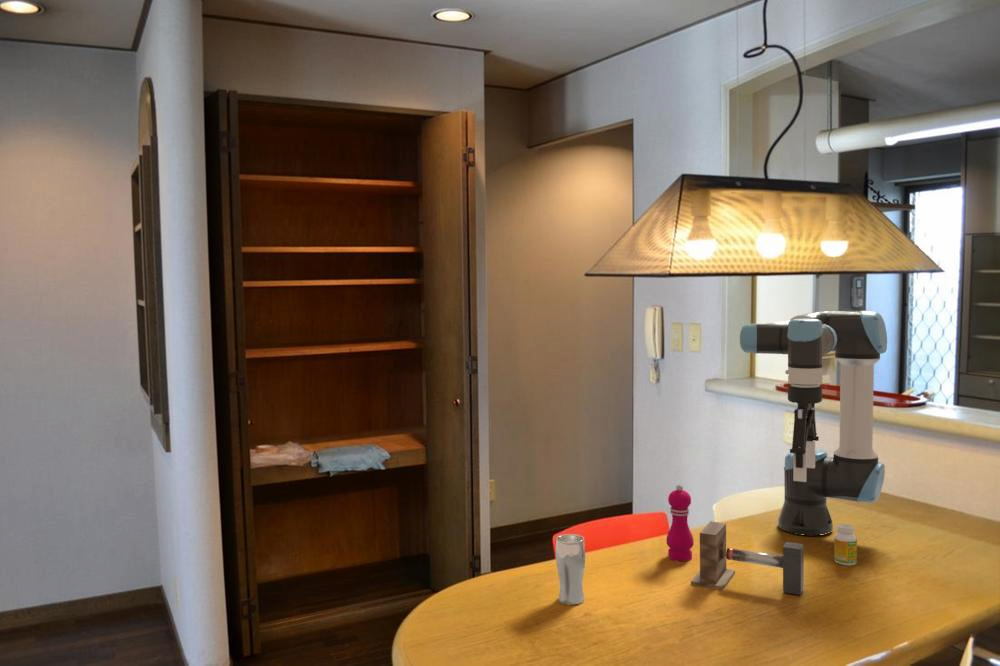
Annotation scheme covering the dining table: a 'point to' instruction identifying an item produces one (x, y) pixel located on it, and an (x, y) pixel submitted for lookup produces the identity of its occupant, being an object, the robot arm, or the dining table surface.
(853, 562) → the supplement bottle
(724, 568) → the wooden arch frame
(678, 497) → the pepper mill
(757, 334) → the robot arm
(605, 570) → the dining table surface
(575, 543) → the beer glass
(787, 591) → the metal rod with plate
